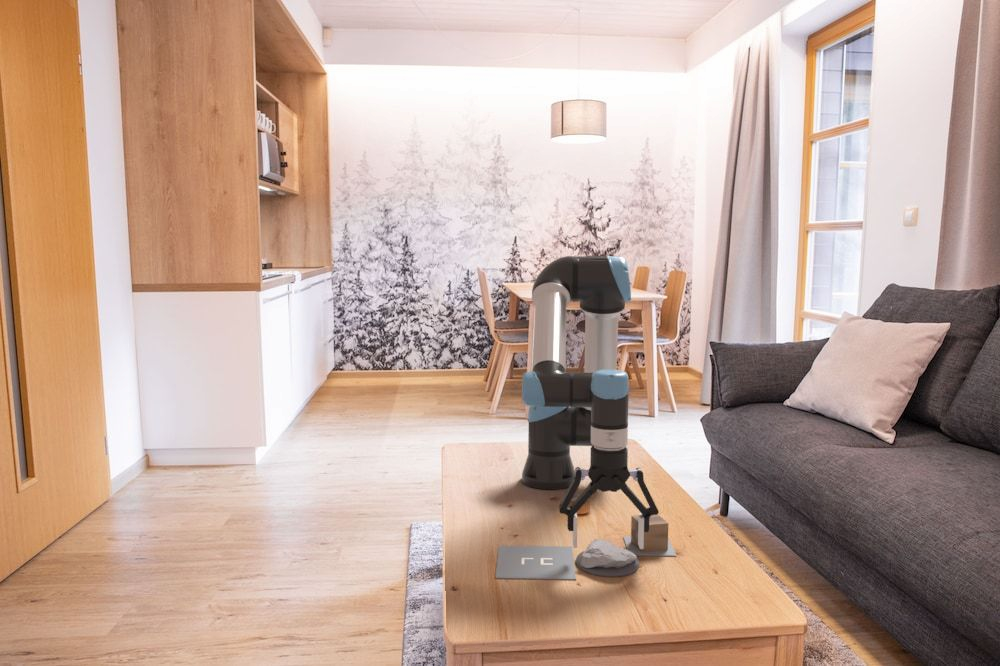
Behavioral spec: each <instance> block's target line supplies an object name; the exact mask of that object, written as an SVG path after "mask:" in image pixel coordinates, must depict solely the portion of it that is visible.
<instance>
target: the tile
mask: <svg viewBox="0 0 1000 666" xmlns="http://www.w3.org/2000/svg"><path fill="white" fill-rule="evenodd" d="M623 540H624V544H625V547H626V549H627V550H628V551H632V552H633V553H634V555H636V557H677V554H676V551H675V550H674V547H673V545H672V542H671V541H670V539H669V537H668V550H662V551H652V552H641V551H640V550H639V549H638V548H637V547H636V546H635V545H634V544H633V543H632V542H631V536H623Z"/></svg>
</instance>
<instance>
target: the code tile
mask: <svg viewBox="0 0 1000 666" xmlns="http://www.w3.org/2000/svg"><path fill="white" fill-rule="evenodd" d="M573 553H574V552H573V545H572V546H570V545H569V546H568V545H566V546H565V545H564V546H563V545H562V546H561V545H559V546H558V545H500V544H499V545H498V551H497V560H496V566H495V567H496V568H495V578H494V579H497V580H499V579H502V580H503V579H505V580H507V579H508V580H551V581H552V580H554V581H555V580H557V581H558V580H559V581H561V580H562V581H563V580H565V581H568V580H569V581H577V576H576V569H575V568H576V567H575V562H574V561H575V559H574V554H573Z"/></svg>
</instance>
